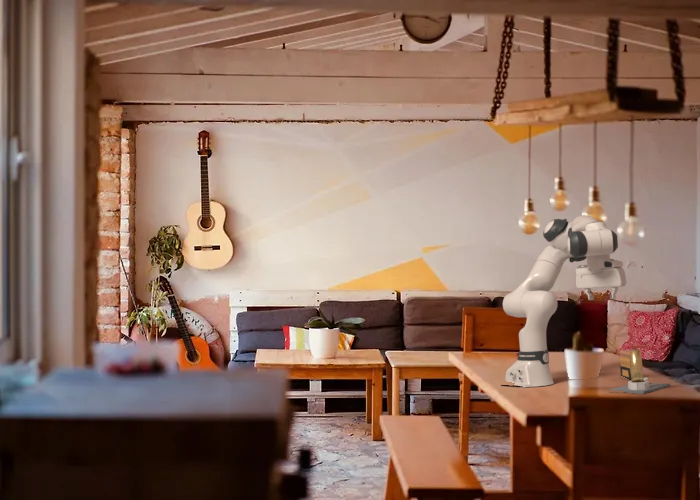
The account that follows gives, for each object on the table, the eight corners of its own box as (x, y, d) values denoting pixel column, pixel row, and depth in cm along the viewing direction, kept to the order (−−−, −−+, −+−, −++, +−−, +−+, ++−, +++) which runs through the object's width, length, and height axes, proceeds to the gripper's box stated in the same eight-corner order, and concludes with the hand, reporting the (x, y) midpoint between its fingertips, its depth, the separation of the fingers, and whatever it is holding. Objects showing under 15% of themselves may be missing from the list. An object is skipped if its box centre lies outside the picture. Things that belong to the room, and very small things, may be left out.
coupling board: (608, 392, 318) (607, 382, 318) (636, 385, 332) (635, 375, 332) (643, 394, 308) (642, 384, 308) (670, 386, 321) (669, 376, 322)
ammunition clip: (620, 377, 356) (618, 349, 356) (625, 377, 356) (622, 348, 357) (630, 380, 345) (627, 351, 346) (634, 380, 345) (632, 350, 346)
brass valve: (630, 388, 316) (626, 346, 317) (636, 387, 319) (632, 344, 319) (647, 389, 311) (643, 346, 312) (653, 388, 314) (649, 344, 314)
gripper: (571, 266, 338) (574, 301, 337) (617, 262, 322) (621, 299, 322) (580, 265, 342) (582, 300, 341) (626, 261, 327) (629, 298, 326)
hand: (601, 299), depth 331 cm, fingers open, 8 cm apart
